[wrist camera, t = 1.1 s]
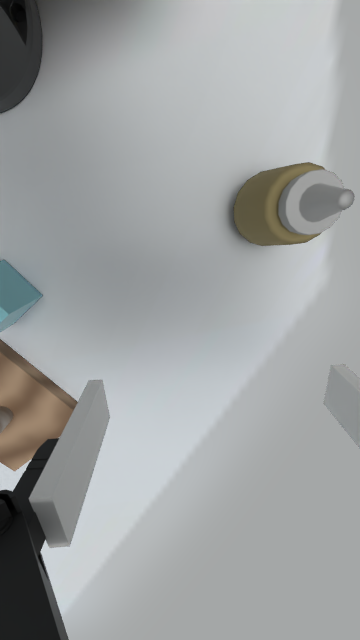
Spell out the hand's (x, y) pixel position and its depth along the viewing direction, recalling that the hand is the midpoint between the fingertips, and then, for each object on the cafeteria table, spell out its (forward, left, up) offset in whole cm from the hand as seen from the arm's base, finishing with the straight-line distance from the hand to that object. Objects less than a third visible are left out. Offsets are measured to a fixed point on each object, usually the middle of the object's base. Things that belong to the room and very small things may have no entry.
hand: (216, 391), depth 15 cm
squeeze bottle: (-3, +13, -24) cm, 27 cm away
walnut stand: (-5, -36, -23) cm, 43 cm away
